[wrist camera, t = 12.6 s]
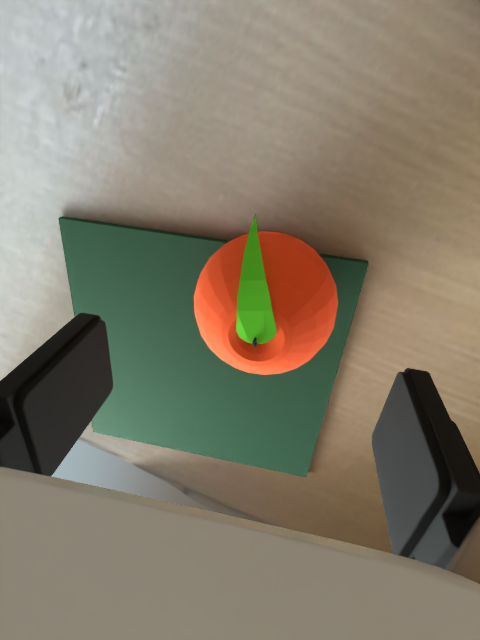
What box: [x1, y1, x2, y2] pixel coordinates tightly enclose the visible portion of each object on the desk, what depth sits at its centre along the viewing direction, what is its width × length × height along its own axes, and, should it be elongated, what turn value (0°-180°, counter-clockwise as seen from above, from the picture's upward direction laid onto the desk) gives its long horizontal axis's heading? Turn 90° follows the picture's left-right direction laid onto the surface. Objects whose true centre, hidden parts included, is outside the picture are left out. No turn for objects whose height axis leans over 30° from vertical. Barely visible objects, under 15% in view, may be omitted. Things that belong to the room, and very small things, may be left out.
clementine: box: [194, 214, 338, 375], centre depth 17 cm, size 8×7×7 cm
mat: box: [59, 217, 368, 477], centre depth 24 cm, size 18×18×1 cm
